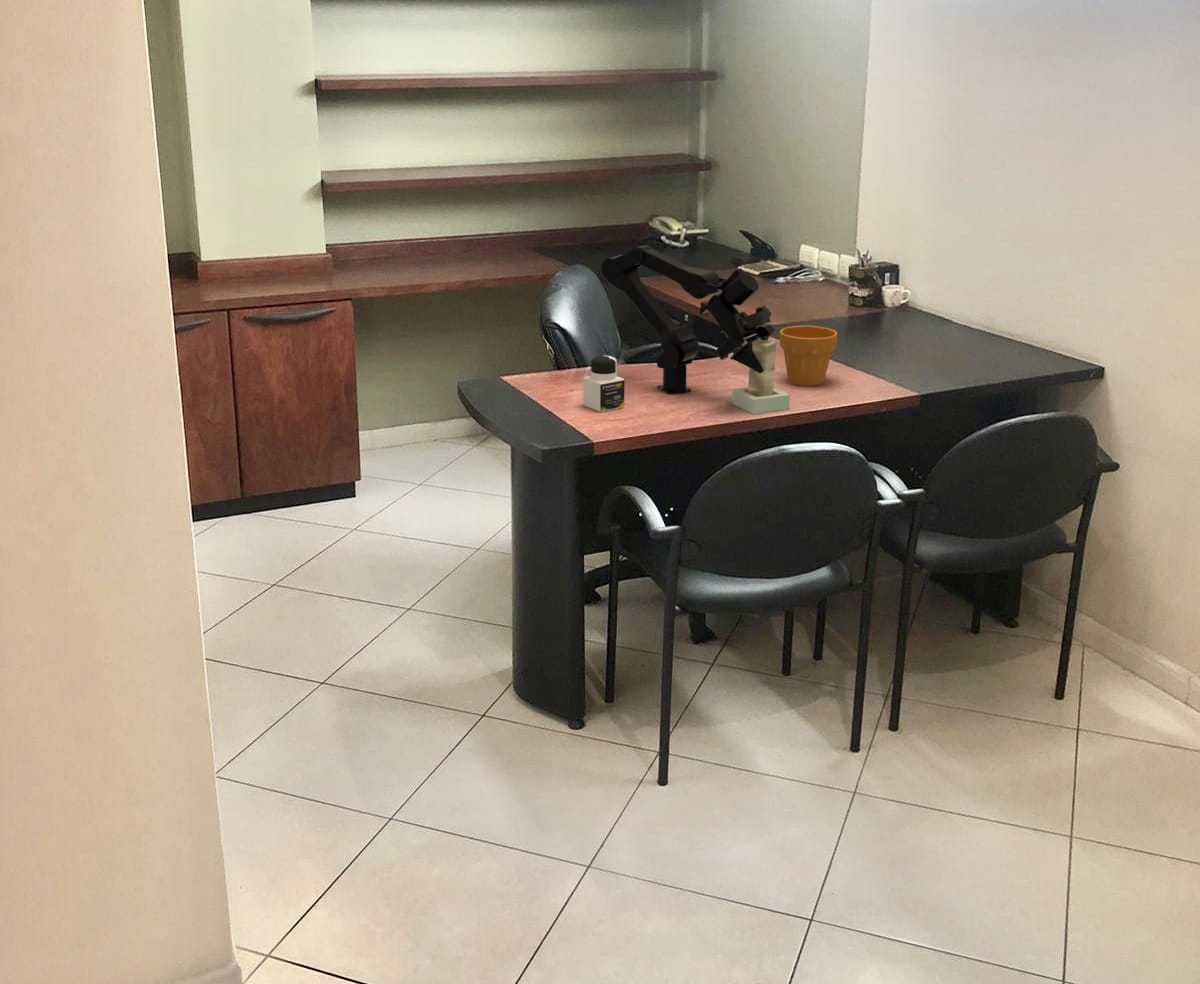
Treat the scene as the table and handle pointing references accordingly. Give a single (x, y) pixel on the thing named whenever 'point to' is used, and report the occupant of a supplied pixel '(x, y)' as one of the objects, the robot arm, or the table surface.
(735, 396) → the socket block
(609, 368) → the medicine bottle
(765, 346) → the maple peg
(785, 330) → the flower pot
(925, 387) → the table surface
